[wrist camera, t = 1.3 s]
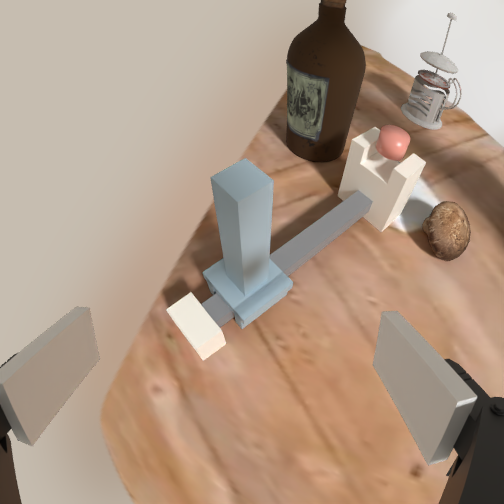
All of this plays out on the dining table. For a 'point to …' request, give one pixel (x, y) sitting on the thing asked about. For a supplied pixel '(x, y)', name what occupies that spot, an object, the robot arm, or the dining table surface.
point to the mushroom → (447, 230)
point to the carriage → (245, 243)
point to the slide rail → (316, 231)
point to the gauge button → (392, 142)
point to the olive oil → (323, 84)
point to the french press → (431, 112)
